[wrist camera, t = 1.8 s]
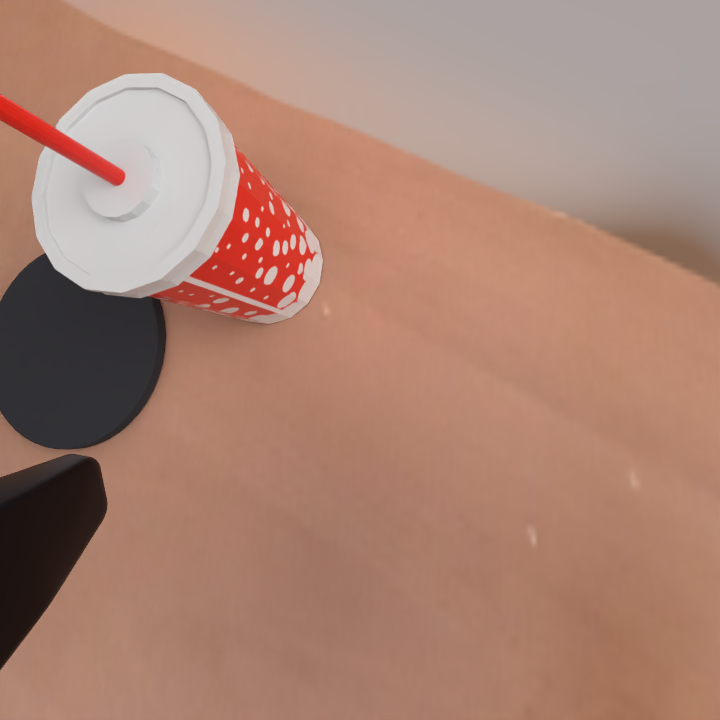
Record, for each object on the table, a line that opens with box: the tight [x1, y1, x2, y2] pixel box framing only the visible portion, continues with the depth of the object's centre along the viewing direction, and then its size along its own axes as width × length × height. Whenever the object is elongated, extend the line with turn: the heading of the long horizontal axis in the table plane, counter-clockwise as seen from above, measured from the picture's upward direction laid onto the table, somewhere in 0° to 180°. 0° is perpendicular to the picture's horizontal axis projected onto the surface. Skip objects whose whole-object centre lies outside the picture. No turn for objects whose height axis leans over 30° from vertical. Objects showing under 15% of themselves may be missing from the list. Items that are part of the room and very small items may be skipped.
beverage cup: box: [0, 73, 323, 324], centre depth 18 cm, size 6×6×14 cm
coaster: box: [0, 253, 165, 449], centre depth 27 cm, size 9×9×1 cm
